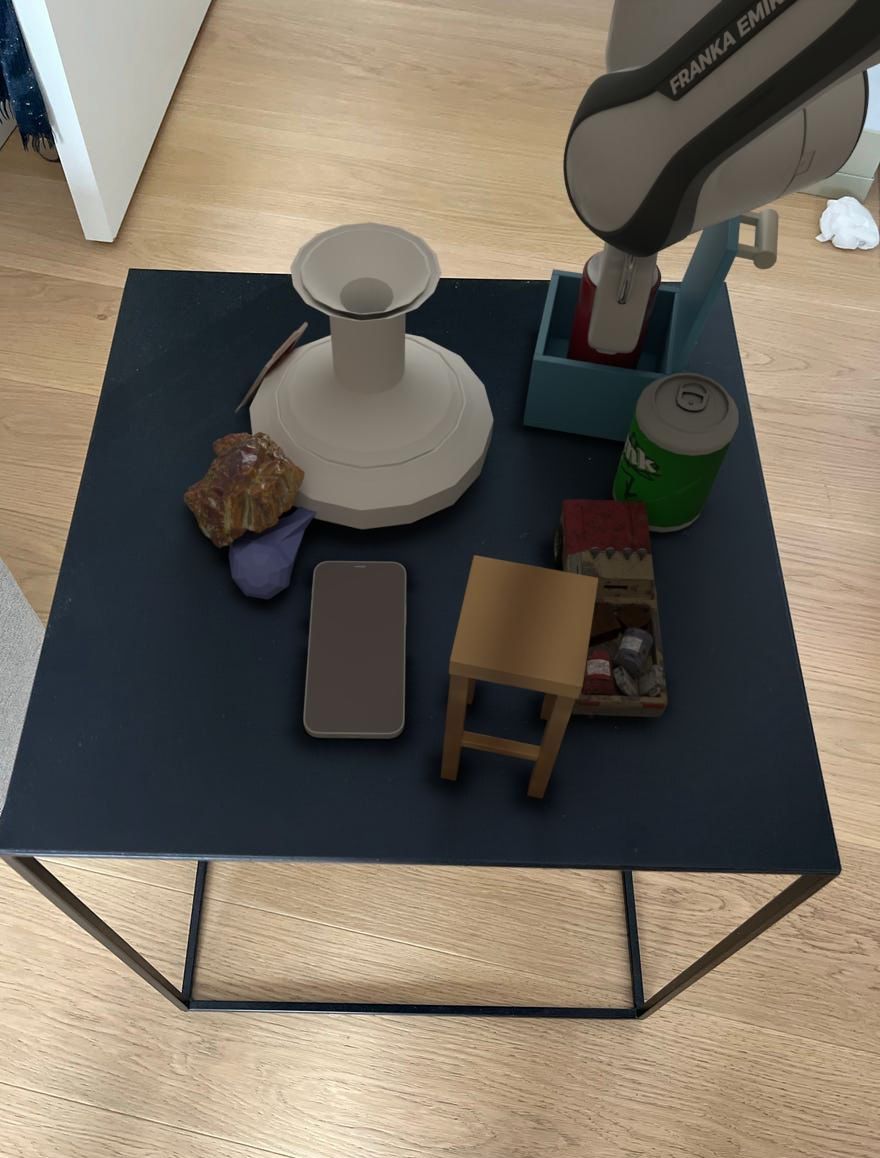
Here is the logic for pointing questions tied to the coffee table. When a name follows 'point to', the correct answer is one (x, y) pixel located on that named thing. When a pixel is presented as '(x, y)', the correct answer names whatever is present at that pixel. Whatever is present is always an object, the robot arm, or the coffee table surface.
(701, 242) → the lid
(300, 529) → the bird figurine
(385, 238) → the candle holder
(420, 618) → the coffee table surface
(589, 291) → the red canister
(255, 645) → the coffee table surface
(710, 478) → the soda can
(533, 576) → the stool
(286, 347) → the decorative emblem
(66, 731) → the coffee table surface
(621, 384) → the box
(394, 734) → the smartphone
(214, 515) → the mineral specimen
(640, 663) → the toy vehicle
